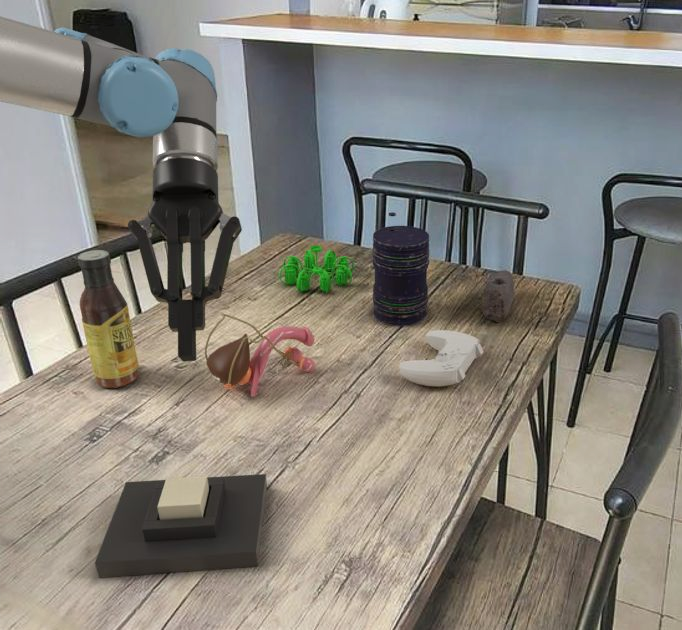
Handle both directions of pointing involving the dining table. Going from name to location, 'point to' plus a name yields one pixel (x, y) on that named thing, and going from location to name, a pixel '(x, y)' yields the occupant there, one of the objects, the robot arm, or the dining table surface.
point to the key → (183, 498)
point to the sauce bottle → (106, 323)
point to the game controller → (443, 359)
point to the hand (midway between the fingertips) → (187, 358)
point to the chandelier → (316, 270)
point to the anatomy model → (255, 356)
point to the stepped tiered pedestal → (185, 530)
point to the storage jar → (400, 274)
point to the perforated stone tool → (498, 296)
